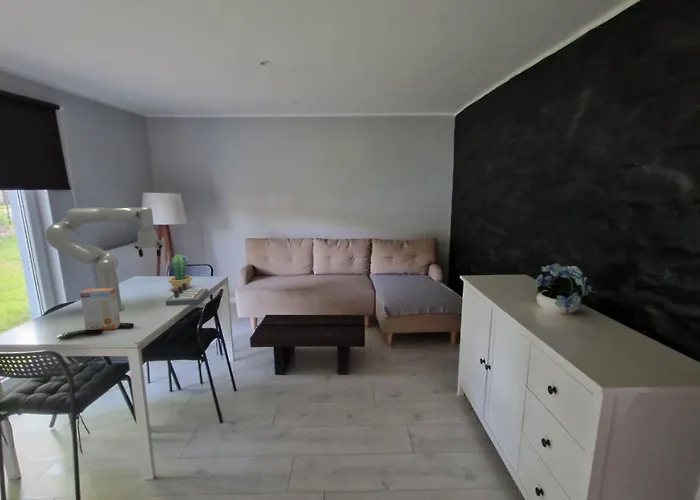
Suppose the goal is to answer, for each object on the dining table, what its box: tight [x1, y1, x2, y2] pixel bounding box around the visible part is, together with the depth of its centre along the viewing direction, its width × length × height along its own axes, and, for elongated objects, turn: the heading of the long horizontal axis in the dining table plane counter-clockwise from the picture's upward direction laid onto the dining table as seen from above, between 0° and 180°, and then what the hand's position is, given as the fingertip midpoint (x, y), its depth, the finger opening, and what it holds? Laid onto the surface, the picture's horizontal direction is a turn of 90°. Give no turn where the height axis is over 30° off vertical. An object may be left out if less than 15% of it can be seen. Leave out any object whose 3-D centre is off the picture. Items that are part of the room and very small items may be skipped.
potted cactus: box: [167, 253, 193, 291], centre depth 249 cm, size 15×15×25 cm
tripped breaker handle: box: [178, 286, 183, 293], centre depth 226 cm, size 2×2×4 cm
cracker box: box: [79, 287, 121, 331], centre depth 179 cm, size 14×6×21 cm, turn 96°
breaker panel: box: [165, 283, 209, 307], centre depth 227 cm, size 23×19×8 cm
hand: (150, 256), depth 213 cm, fingers open, 9 cm apart
